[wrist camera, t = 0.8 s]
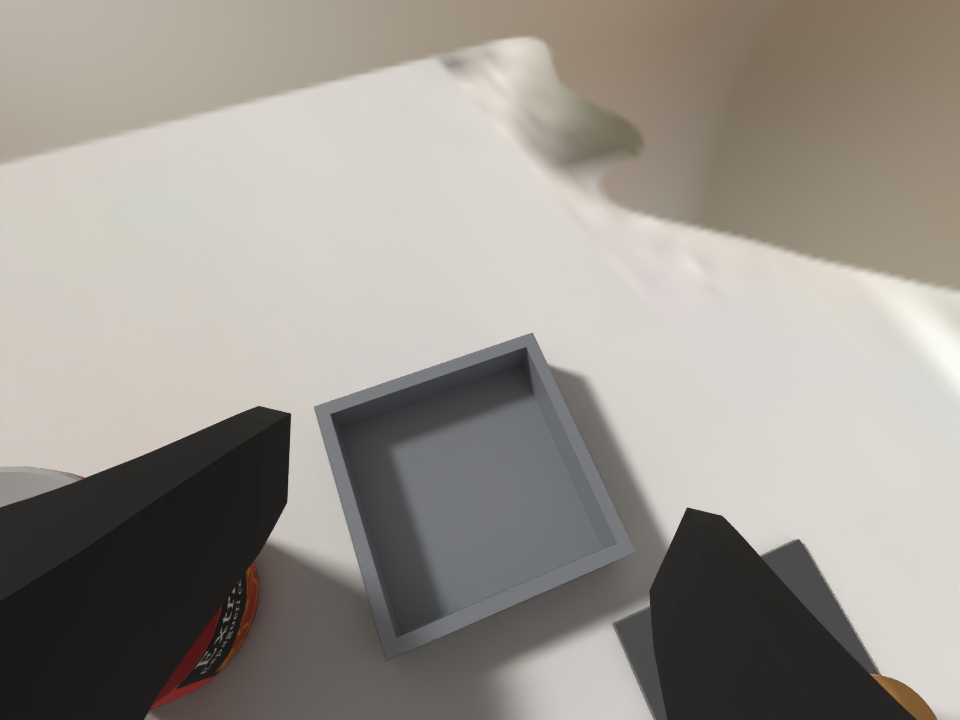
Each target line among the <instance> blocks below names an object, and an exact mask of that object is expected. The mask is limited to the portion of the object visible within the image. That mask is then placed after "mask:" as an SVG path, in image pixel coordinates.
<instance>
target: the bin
mask: <svg viewBox="0 0 960 720" xmlns="http://www.w3.org/2000/svg"><path fill="white" fill-rule="evenodd" d="M314 409H315V413H316V416H317V420H318V423H319V427H320V430H321V434H322V437H323V441H324V444H325V448H326V451H327V455H328V458H329V462H330V466H331V469H332V473H333V476H334V480H335V483H336V487H337V490H338V494H339V497H340V501H341V504H342V508H343V511H344V515H345V518H346V522H347V525H348V529H349V533H350V536H351V540H352V543H353V547H354V550H355V554H356V557H357V561H358V564H359V568H360V571H361V575H362V578H363V582H364V585H365V589H366V592H367V596H368V600H369V603H370V607H371V610H372V614H373V617H374V621H375V624H376V628H377V631H378V635H379V638H380V642H381V645H382V649H383V652H384V656H385V659H386V661H387V660H389V659H392V658H394V657H396V656H398V655H401V654H403V653H405V652H408V651H410V650H412V649H415V648H417V647H419V646H421V645H424V644H426V643H428V642H431V641H433V640H435V639H438V638H440V637H442V636H444V635H447V634H449V633H451V632H454V631H456V630H458V629H460V628H463V627H465V626H467V625H470V624H472V623H474V622H477V621H479V620H481V619H483V618H486V617H488V616H490V615H493V614H495V613H497V612H499V611H502V610H504V609H506V608H509V607H511V606H513V605H516V604H518V603H520V602H522V601H525V600H527V599H529V598H532V597H534V596H536V595H538V594H541V593H543V592H545V591H548V590H550V589H552V588H555V587H557V586H559V585H561V584H564V583H566V582H568V581H571V580H573V579H575V578H577V577H580V576H582V575H584V574H587V573H589V572H591V571H594V570H596V569H598V568H600V567H603V566H605V565H607V564H610V563H612V562H614V561H617V560H619V559H621V558H623V557H626V556H628V555H630V554H633V553H635V552H636V551H635V549H634V547H633V544H632V542H631V540H630V538H629V536H628V534H627V532H626V530H625V527H624V525H623V523H622V521H621V519H620V517H619V515H618V513H617V510H616V508H615V506H614V504H613V502H612V500H611V498H610V496H609V494H608V491H607V489H606V487H605V485H604V483H603V481H602V479H601V477H600V474H599V472H598V470H597V468H596V466H595V464H594V462H593V460H592V457H591V455H590V453H589V451H588V449H587V447H586V445H585V443H584V440H583V438H582V436H581V434H580V432H579V430H578V428H577V426H576V424H575V421H574V419H573V417H572V415H571V413H570V411H569V409H568V407H567V404H566V402H565V400H564V398H563V396H562V394H561V392H560V390H559V387H558V385H557V383H556V381H555V379H554V377H553V375H552V373H551V370H550V368H549V366H548V364H547V362H546V360H545V358H544V356H543V354H542V351H541V349H540V347H539V345H538V343H537V341H536V339H535V337H534V334H533V333H530V334H527V335H524V336H521V337H518V338H515V339H512V340H509V341H506V342H503V343H501V344H498V345H495V346H492V347H489V348H486V349H483V350H480V351H477V352H474V353H471V354H468V355H465V356H462V357H459V358H456V359H453V360H450V361H447V362H444V363H441V364H439V365H436V366H433V367H430V368H427V369H424V370H421V371H418V372H415V373H412V374H409V375H406V376H403V377H400V378H397V379H394V380H391V381H388V382H385V383H382V384H379V385H377V386H374V387H371V388H368V389H365V390H362V391H359V392H356V393H353V394H350V395H347V396H344V397H341V398H338V399H335V400H332V401H329V402H326V403H323V404H320V405H317V406H315V407H314Z"/></svg>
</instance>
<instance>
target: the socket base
mask: <svg viewBox="0 0 960 720" xmlns="http://www.w3.org/2000/svg"><path fill="white" fill-rule="evenodd" d="M760 557H761V558H762V559H763V560H764V561H765V562H766V563H767V565H768V566H769V567H770V568H771V569H772V570H773V571H774V572H775V574H776V575H777V576H778V577H779V578H780V579H781V580H782V581H783V582H784V584H785V585H786V586H787V587H788V588H789V589H790V590H791V591H792V592H793V594H794V595H795V596H796V597H797V598H798V599H799V600H800V601H801V602H802V603H803V605H804V606H805V607H806V608H807V609H808V610H809V611H810V612H811V613H812V614H813V615H814V616H815V618H816V619H817V620H818V621H819V622H820V623H821V624H822V625H823V626H824V627H825V628H826V629H827V630H828V631H829V632H830V634H831V635H832V636H833V637H834V638H835V639H836V640H837V641H838V642H839V643H840V644H841V645H842V646H843V647H844V648H845V649H846V650H847V651H848V652H849V653H850V654H851V655H852V656H853V657H854V658H855V659H856V660H857V661H858V662H859V663H860V664H861V665H862V666H863V667H864V668H865V669H866V670H867V671H868V672H869V673H870V674H875V675H878V673H877V671H876V669H875V668H874V666H873V664H872V663H871V661H870V659H869V658H868V656H867V654H866V652H865V651H864V649H863V647H862V646H861V644H860V642H859V640H858V639H857V637H856V635H855V634H854V632H853V630H852V628H851V627H850V625H849V623H848V622H847V620H846V618H845V617H844V615H843V613H842V611H841V610H840V608H839V606H838V605H837V603H836V601H835V599H834V598H833V596H832V594H831V593H830V591H829V589H828V587H827V586H826V584H825V582H824V581H823V579H822V577H821V576H820V574H819V572H818V570H817V569H816V567H815V565H814V564H813V562H812V560H811V558H810V557H809V555H808V553H807V552H806V550H805V548H804V546H803V545H802V543H801V541H800V540H799V539H797V540H793V541H791V542H789V543H787V544H784V545H782V546H780V547H778V548H776V549H773V550H771V551H769V552H767V553H765V554H763V555H760ZM612 624H613V626H614V629H615V631H616V633H617V636H618V638H619V640H620V643H621V645H622V647H623V649H624V652H625V654H626V656H627V659H628V661H629V663H630V666H631V668H632V670H633V672H634V675H635V677H636V679H637V682H638V684H639V686H640V689H641V691H642V693H643V695H644V698H645V700H646V702H647V705H648V707H649V709H650V712H651V714H652V716H653V718H654V720H667V715H666V710H665V705H664V701H663V695H662V690H661V685H660V680H659V675H658V670H657V664H656V659H655V654H654V647H653V636H652V624H651V607H650V606H649V607H647V608H645V609H643V610H641V611H638V612H636V613H634V614H632V615H630V616H627V617H625V618H623V619H621V620H619V621H617V622H614V623H612Z"/></svg>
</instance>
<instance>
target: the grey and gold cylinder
mask: <svg viewBox="0 0 960 720" xmlns="http://www.w3.org/2000/svg"><path fill="white" fill-rule="evenodd" d="M871 675H872V677H873V678H874V679H875V680H876V681H877V682H878V683H879V684H880V685H881V686H882V687H883V688H884V689H885V690H886V691H887V692H888V693H889V694H891V695H892V696H893V697H894V698H895V699H896V700H897V701H898V702H899V703H900V704H901V705H902V706H903V707H904V708H905V709H906V710H907V711H908V712H909V713H910V714H911V715H912V716H914V717H915V718H916V719H917V720H937V718H936V716H935V715H934V713H933V712H932V710H931V709H930V707H929V706H928V705H927V703H926V702H925V701H924V700H923V699H922V698H921V697H920V696H919V695H918V694H917V693H916V692H915V691H914V690H912V689H911V688H910V687H908V686H907V685H905V684H903V683H901V682H899V681H897V680H895V679H892V678H889V677H885V676H880V675H875V674H871Z"/></svg>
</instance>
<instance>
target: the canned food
mask: <svg viewBox="0 0 960 720" xmlns="http://www.w3.org/2000/svg"><path fill="white" fill-rule="evenodd" d="M81 479H84V477H81V476H77V475H74V474H71V473H67V472H61V471H55V470H50V469H44V468H34V467H29V466H27V467H0V507H3V506H6V505H9V504H12V503H15V502H18V501H21V500H25V499H28V498H31V497H34V496H37V495H40V494H43V493H46V492H48V491H51V490H54V489H57V488H60V487H63V486H65V485H68V484H71V483H74V482H76V481H79V480H81ZM258 593H259V587H258V575H257V571H256V568H255V564H254V561H253V563H252V564H251V566H250V567H249V568H248V570H247V571H246V573H245V574H244V575H243V577H242V578H241V580H240V581H239V582H238V584H237V585H236V587H235V588H234V589H233V591H232V592H231V593H230V595H229V596H228V598H227V599H226V600H225V602H224V603H223V605H222V606H221V607H220V609H219V610H218V611H217V613H216V614H215V616H214V617H213V618H212V620H211V621H210V622H209V624H208V625H207V627H206V628H205V629H204V631H203V632H202V633H201V635H200V636H199V638H198V639H197V640H196V642H195V643H194V644H193V646H192V647H191V649H190V650H189V651H188V653H187V654H186V656H185V657H184V658H183V660H182V661H181V662H180V664H179V665H178V667H177V668H176V670H175V671H174V673H173V674H172V676H171V677H170V679H169V680H168V682H167V683H166V684H165V686H164V687H163V689H162V690H161V692H160V693H159V695H158V697H157V698H156V700H155V702H154V703H153V705H152V707H151V708H150V710H151V709H153V708H156V707H158V706H161V705H163V704H166V703H168V702H171V701H173V700H176V699H178V698H180V697H182V696H184V695H187V694H189V693H191V692H193V691H195V690H197V689H198V688H200V687H201V686H202V685H204V684H205V683H207V682H208V681H210V680H211V679H213V678H214V677H215V676H216V675H217V674H218V673H219V672H220V671H221V670H222V669H223V668H224V667H225V666H226V665H227V664H228V663H229V662H230V660H231V659H232V658H233V656H234V655H235V654H236V652H237V651H238V649H239V648H240V647H241V645H242V643H243V641H244V639H245V637H246V635H247V633H248V631H249V629H250V627H251V625H252V622H253V619H254V615H255V612H256V609H257V602H258Z"/></svg>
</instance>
